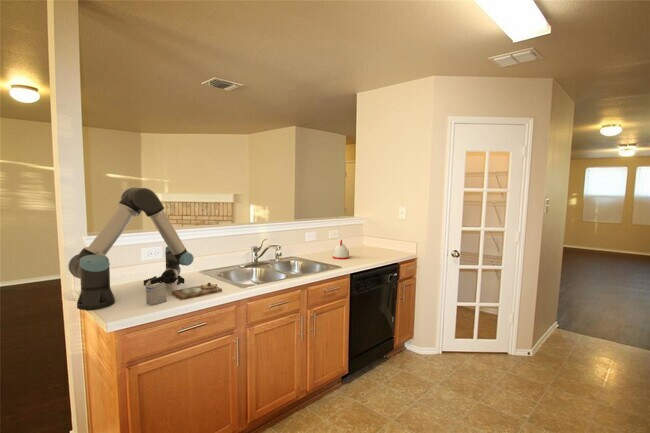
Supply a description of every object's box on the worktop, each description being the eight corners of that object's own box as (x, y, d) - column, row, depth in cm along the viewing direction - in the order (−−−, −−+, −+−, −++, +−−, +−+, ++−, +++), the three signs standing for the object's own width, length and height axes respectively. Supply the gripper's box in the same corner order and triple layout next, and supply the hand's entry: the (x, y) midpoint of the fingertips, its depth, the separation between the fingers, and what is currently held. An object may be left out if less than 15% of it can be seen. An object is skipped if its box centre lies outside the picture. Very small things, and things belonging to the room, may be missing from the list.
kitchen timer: (349, 256, 295) (350, 239, 294) (348, 259, 281) (349, 241, 280) (333, 256, 297) (333, 238, 296) (331, 259, 283) (331, 240, 282)
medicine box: (161, 300, 175) (161, 283, 175) (166, 301, 173) (166, 284, 172) (146, 304, 169) (145, 286, 168) (151, 306, 166) (150, 288, 166)
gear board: (182, 300, 175) (181, 292, 175) (171, 293, 185) (170, 286, 185) (222, 291, 191) (222, 284, 191) (210, 286, 201) (210, 279, 201)
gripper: (192, 281, 203) (186, 291, 182) (145, 283, 197) (134, 294, 177) (192, 268, 202) (186, 277, 182) (145, 270, 197) (134, 279, 176)
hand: (160, 285), depth 179 cm, fingers open, 13 cm apart
